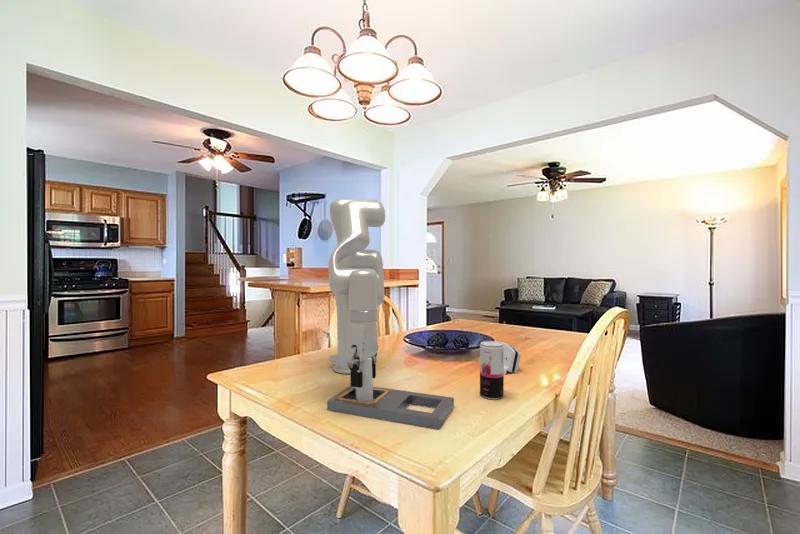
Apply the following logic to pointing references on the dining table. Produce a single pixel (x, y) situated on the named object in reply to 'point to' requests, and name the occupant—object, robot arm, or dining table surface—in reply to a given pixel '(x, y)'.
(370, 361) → the skincare box
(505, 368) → the white curved block
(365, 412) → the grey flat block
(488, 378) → the beverage can
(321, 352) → the dining table surface
